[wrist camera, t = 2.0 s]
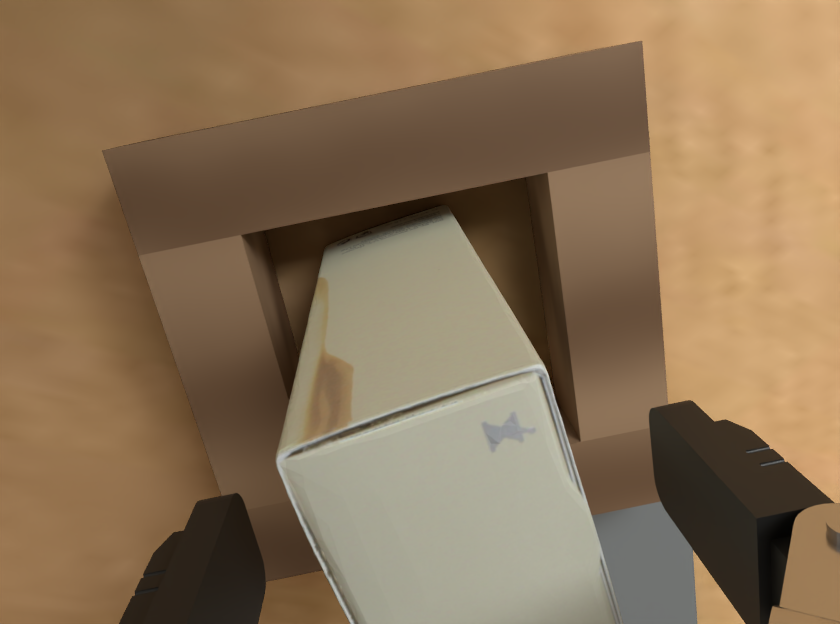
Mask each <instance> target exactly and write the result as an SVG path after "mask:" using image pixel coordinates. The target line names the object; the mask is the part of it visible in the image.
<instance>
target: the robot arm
mask: <svg viewBox="0 0 840 624" xmlns="http://www.w3.org/2000/svg"><path fill="white" fill-rule="evenodd" d="M649 428H650V438H651V449H652V460H653V471H654V480H655V485H656V489H657V492H658V495H659V498H660V501H661V503H662V505H663V507H664V509H665V510H666V512H667V513H668V515H669V516H670V518H671V519H672V521H673V522H674V523H675V525H676V526H677V528H678V529H679V530H680V532H681V533H682V535H683V536H684V537H685V539H686V540H687V542H688V543H689V544H690V546H691V547H692V549H693V550H694V551H695V553H696V554H697V556H698V557H699V559H700V560H701V561H702V563H703V564H704V566H705V567H706V568H707V570H708V571H709V573H710V574H711V575H712V577H713V578H714V580H715V581H716V582H717V584H718V585H719V587H720V588H721V589H722V591H723V592H724V594H725V595H726V597H727V598H728V599H729V601H730V602H731V604H732V605H733V606H734V608H735V609H736V611H737V612H738V613H739V615H740V616H741V618H742V619H743V620H744V622H745V623H746V624H840V503H834V502H833V501H832V500H831V499H830V498H828V497H827V496H826V495H825V494H824V493H823V492H821V491H820V490H819V489H818V488H817V487H816V486H815V485H813V484H812V483H811V482H810V481H809V480H808V479H807V478H805V477H804V476H803V475H802V474H801V473H800V472H799V471H797V470H796V469H795V468H794V467H793V466H792V465H791V464H789V463H788V462H785V461H784V458H783V457H781V456H780V455H779V454H778V453H777V452H776V451H775V450H773V449H770V448H769V445H768V444H766V443H765V442H764V441H763V440H762V439H761V438H760V437H758V436H757V435H756V434H755V433H754V432H753V431H752V430H749V429H747V428H745V427H742V426H740V425H737V424H735V423H733V422H730V421H728V420H726V419H725V420H721V421H716V422H714V421H713V420H712V419H711V418H710V417H709V416H708V415H707V414H706V413H705V412H704V411H703V410H702V409H700V408H699V407H698V406H697V405H696V404H695V403H694V402H693V401H691V400H688V401H683V402H678V403H673V404H668V405H664V406H659V407H654V408H651V409H650V412H649ZM143 575H144V578H141V580H140V582H139V584H138V586H137V588H136V590H135V596H132V598H131V600H130V602H129V604H128V606H127V608H126V610H125V612H124V614H123V616H122V618H121V620H120V623H119V624H258V621H259V617H260V612H261V608H262V603H263V599H264V594H265V587H266V577H265V568H264V562H263V558H262V555H261V552H260V549H259V546H258V543H257V540H256V537H255V534H254V531H253V528H252V525H251V522H250V518H249V515H248V512H247V509H246V506H245V503H244V501H243V499H242V497H241V496H240V494H238V493H233V494H229V495H224V496H219V497H214V498H209V499H205V500H200V501H198V502H197V503H196V505H195V507H194V509H193V511H192V514H191V516H190V518H189V520H188V523H187V525H186V527H185V529H184V531H179V532H174V533H173V534H172V535H171V536H170V537H169V538H168V539H167V540H166V541H165V542H164V543H163V544H162V545H161V546H160V547H159V548H158V549H157V550H156V551H155V552H154V553H153V555H152V557H151V559H150V561H149V563H148V566H147V568H146V570H145V572H144V574H143Z"/></svg>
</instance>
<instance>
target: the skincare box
mask: <svg viewBox="0 0 840 624" xmlns="http://www.w3.org/2000/svg"><path fill="white" fill-rule="evenodd" d="M275 462H276V467H277V470H278V472H279V474H280V476H281V479H282V481H283V483H284V486H285V489H286V492H287V494H288V497H289V499H290V501H291V503H292V505H293V507H294V510H295V512H296V514H297V517H298V519H299V522H300V524H301V526H302V528H303V530H304V532H305V535H306V537H307V539H308V541H309V543H310V545H311V547H312V549H313V552H314V554H315V556H316V558H317V560H318V562H319V564H320V566H321V568H322V570H323V572H324V574H325V576H326V578H327V580H328V582H329V583H330V585H331V587H332V589H333V591H334V594H335V596H336V598H337V599H338V601H339V603H340V605H341V607H342V609H343V611H344V613H345V615H346V617H347V619H348V621H349V623H350V624H623V621H622V617H621V614H620V610H619V607H618V603H617V600H616V596H615V593H614V590H613V586H612V582H611V579H610V575H609V572H608V568H607V565H606V562H605V559H604V555H603V552H602V548H601V545H600V541H599V538H598V535H597V531H596V528H595V525H594V521H593V518H592V515H591V512H590V509H589V506H588V502H587V499H586V496H585V493H584V489H583V486H582V483H581V480H580V477H579V473H578V470H577V467H576V464H575V461H574V457H573V454H572V450H571V447H570V444H569V441H568V438H567V434H566V431H565V428H564V424H563V421H562V417H561V414H560V411H559V409H558V406H557V403H556V400H555V397H554V393H553V390H552V386H551V382H550V378H549V375H548V373H547V370H546V368H545V365H544V363H543V362H542V360H541V359H540V357H539V356H538V354H537V352H536V351H535V349H534V347H533V345H532V344H531V342H530V340H529V339H528V337H527V335H526V334H525V332H524V330H523V329H522V327H521V325H520V324H519V322H518V320H517V319H516V317H515V315H514V314H513V312H512V310H511V309H510V307H509V306H508V304H507V302H506V301H505V299H504V297H503V296H502V294H501V293H500V291H499V289H498V288H497V286H496V284H495V283H494V281H493V279H492V278H491V276H490V275H489V273H488V271H487V270H486V268H485V267H484V265H483V263H482V262H481V260H480V258H479V257H478V255H477V254H476V252H475V250H474V248H473V247H472V245H471V243H470V242H469V240H468V239H467V237H466V235H465V234H464V232H463V230H462V229H461V227H460V225H459V224H458V222H457V220H456V219H455V217H454V215H453V214H452V212H451V210H450V209H449V207H448V206H447V205H442V206H438V207H435V208H432V209H429V210H426V211H422V212H419V213H416V214H413V215H410V216H407V217H404V218H401V219H398V220H394V221H391V222H388V223H385V224H382V225H379V226H376V227H374V228H371V229H368V230H365V231H362V232H360V233H357V234H355V235H352V236H349V237H347V238H344V239H342V240H339V241H337V242H334V243H332V244H330V245H327V246H326V247H325V249H324V253H323V258H322V262H321V266H320V270H319V275H318V280H317V285H316V288H315V293H314V297H313V301H312V305H311V309H310V313H309V318H308V324H307V327H306V332H305V336H304V340H303V344H302V348H301V352H300V357H299V363H298V367H297V371H296V375H295V379H294V383H293V388H292V392H291V396H290V400H289V405H288V409H287V413H286V417H285V422H284V426H283V430H282V434H281V438H280V442H279V446H278V449H277V453H276V460H275Z"/></svg>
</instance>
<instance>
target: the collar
mask: <svg viewBox="0 0 840 624" xmlns="http://www.w3.org/2000/svg"><path fill="white" fill-rule="evenodd" d="M102 152H103V155H104V158H105V161H106V163H107V166H108V169H109V172H110V175H111V178H112V181H113V184H114V186H115V189H116V192H117V195H118V198H119V201H120V204H121V207H122V210H123V212H124V215H125V218H126V221H127V224H128V227H129V230H130V233H131V236H132V238H133V241H134V244H135V247H136V250H137V253H138V256H139V259H140V262H141V264H142V267H143V270H144V273H145V276H146V279H147V282H148V285H149V287H150V290H151V293H152V296H153V299H154V302H155V305H156V308H157V311H158V313H159V316H160V319H161V322H162V325H163V328H164V331H165V334H166V337H167V339H168V342H169V345H170V348H171V351H172V354H173V357H174V360H175V363H176V365H177V368H178V371H179V374H180V377H181V380H182V383H183V386H184V388H185V391H186V394H187V397H188V400H189V403H190V406H191V409H192V412H193V414H194V417H195V420H196V423H197V426H198V429H199V432H200V435H201V438H202V440H203V443H204V446H205V449H206V452H207V455H208V458H209V461H210V463H211V466H212V469H213V472H214V475H215V478H216V481H217V484H218V487H219V489H220V492H221V495H222V496H224V495H229V494H233V493H238V494H240V496H241V497H242V499H243V501H244V503H245V506H246V509H247V512H248V515H249V518H250V522H251V525H252V528H253V531H254V534H255V537H256V540H257V543H258V546H259V549H260V552H261V555H262V558H263V562H264V568H265V577H266V582H267V581H272V580H277V579H282V578H287V577H292V576H296V575H301V574H306V573H311V572H316V571H321V570H322V568H321V566H320V564H319V562H318V560H317V558H316V556H315V554H314V552H313V549H312V547H311V545H310V543H309V541H308V539H307V537H306V535H305V532H304V530H303V528H302V526H301V524H300V522H299V519H298V517H297V514H296V512H295V510H294V507H293V505H292V503H291V501H290V499H289V497H288V494H287V492H286V489H285V486H284V483H283V481H282V479H281V476H280V474H279V472H278V470H277V467H276V462H275V460H276V453H277V449H278V446H279V442H280V438H281V434H282V430H283V426H284V422H285V417H286V413H287V409H288V405H289V400H290V396H291V392H292V388H293V383H294V379H295V375H296V371H297V367H298V363H299V356H298V352H297V349H296V345H295V341H294V338H293V334H292V330H291V327H290V323H289V320H288V316H287V312H286V309H285V305H284V301H283V298H282V294H281V291H280V287H279V283H278V280H277V276H276V272H275V269H274V265H273V262H272V258H271V254H270V251H269V247H268V244H267V240H266V236H265V233H264V230H268V229H272V228H277V227H282V226H287V225H292V224H297V223H302V222H307V221H312V220H317V219H322V218H327V217H332V216H336V215H341V214H346V213H351V212H356V211H361V210H366V209H371V208H376V207H381V206H386V205H391V204H396V203H400V202H405V201H410V200H415V199H420V198H425V197H430V196H435V195H440V194H445V193H450V192H455V191H460V190H464V189H469V188H474V187H479V186H484V185H489V184H494V183H499V182H504V181H509V180H514V179H519V178H524V177H526V183H527V190H528V197H529V205H530V212H531V219H532V227H533V234H534V242H535V249H536V256H537V264H538V271H539V279H540V286H541V293H542V301H543V308H544V316H545V323H546V330H547V338H548V345H549V353H550V360H551V367H552V375H553V382H554V389H555V397H556V399H555V400H556V403H557V406H558V409H559V411H560V414H561V417H562V421H563V424H564V428H565V431H566V434H567V438H568V441H569V444H570V447H571V450H572V454H573V457H574V461H575V464H576V467H577V470H578V473H579V477H580V480H581V483H582V486H583V489H584V493H585V496H586V499H587V502H588V506H589V509H590V512H591V515H597V514H602V513H607V512H612V511H617V510H622V509H626V508H631V507H636V506H641V505H646V504H651V503H656V502H661V501H660V498H659V495H658V492H657V489H656V485H655V480H654V471H653V460H652V449H651V438H650V428H649V412H650V409H651V408H654V407H659V406H664V405H668V398H667V384H666V370H665V356H664V341H663V327H662V313H661V299H660V285H659V271H658V257H657V243H656V229H655V215H654V201H653V187H652V173H651V159H650V145H649V131H648V116H647V102H646V88H645V74H644V60H643V46H642V41H639V42H633V43H628V44H622V45H617V46H611V47H606V48H600V49H595V50H591V51H586V52H581V53H576V54H571V55H566V56H561V57H556V58H551V59H546V60H541V61H536V62H531V63H527V64H522V65H517V66H512V67H507V68H502V69H497V70H492V71H487V72H482V73H477V74H472V75H467V76H463V77H458V78H453V79H448V80H443V81H438V82H433V83H428V84H423V85H418V86H413V87H408V88H404V89H399V90H394V91H389V92H384V93H379V94H374V95H369V96H364V97H359V98H354V99H349V100H344V101H340V102H335V103H330V104H325V105H320V106H315V107H310V108H305V109H300V110H295V111H290V112H285V113H280V114H276V115H271V116H266V117H261V118H256V119H251V120H246V121H241V122H236V123H231V124H226V125H221V126H216V127H212V128H207V129H202V130H197V131H192V132H187V133H182V134H177V135H172V136H167V137H162V138H157V139H153V140H148V141H143V142H138V143H134V144H129V145H125V146H120V147H116V148H111V149H107V150H103V151H102Z"/></svg>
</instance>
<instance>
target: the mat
mask: <svg viewBox="0 0 840 624" xmlns="http://www.w3.org/2000/svg"><path fill="white" fill-rule="evenodd" d="M592 518H593V521H594V525H595V528H596V531H597V535H598V538H599V541H600V545H601V548H602V552H603V555H604V559H605V562H606V565H607V568H608V572H609V575H610V579H611V582H612V586H613V590H614V593H615V596H616V600H617V603H618V607H619V610H620V614H621V617H622V621H623V624H697V611H696V595H695V579H694V563H693V549H692V547H691V546H690V544H689V543H688V542H687V540H686V539H685V537H684V536H683V535H682V533H681V532H680V530H679V529H678V528H677V526H676V525H675V523H674V522H673V521H672V519H671V518H670V516H669V515H668V513H667V512H666V510H665V509H664V507H663V505H662V503H661V502H656V503H651V504H646V505H641V506H636V507H631V508H626V509H622V510H617V511H612V512H607V513H602V514H597V515H592Z"/></svg>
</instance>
